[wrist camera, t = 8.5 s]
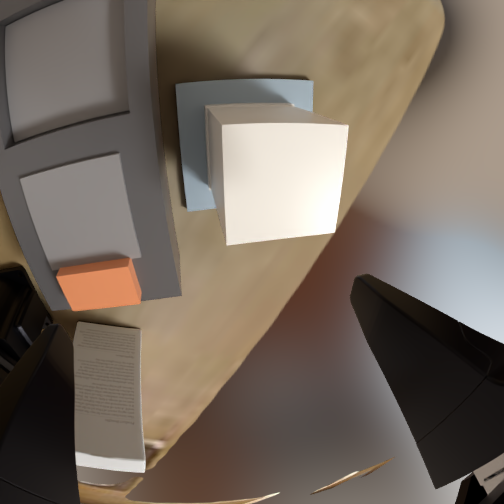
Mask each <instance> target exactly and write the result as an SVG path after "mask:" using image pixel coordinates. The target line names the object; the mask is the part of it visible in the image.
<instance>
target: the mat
mask: <svg viewBox="0 0 504 504" xmlns="http://www.w3.org/2000/svg"><path fill="white" fill-rule="evenodd" d="M176 99H177V113H178V126H179V137H180V148H181V158H182V168H183V177H184V186H185V195H186V203H187V211H188V212H189V211H197V210H205V209H213V208H216V205H215V202H214V198H213V194H212V191H211V190H209V187H208V175H207V158H206V138H205V115H204V105H210V104H227V103H292V104H294V106H295V107H298V108H301V109H304V110H307V111H310V112H312V108H313V81H309V80H291V79H230V80H212V81H199V82H189V83H180V84H176Z"/></svg>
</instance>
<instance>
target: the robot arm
mask: <svg viewBox="0 0 504 504" xmlns="http://www.w3.org/2000/svg"><path fill="white" fill-rule="evenodd" d="M20 273H21V274H20ZM350 300H351V304H352V306H353V309H354V311H355V314H356V316H357V318H358V321H359V323H360V326H361V328H362V331H363V333H364V336H365V338H366V340H367V343H368V345H369V347H370V349H371V351H372V352H373V354H374V356H375V358H376V360H377V362H378V364H379V366H380V368H381V370H382V372H383V374H384V375H385V378H386V380H387V382H388V384H389V386H390V388H391V390H392V392H393V394H394V396H395V398H396V400H397V403H398V405H399V407H400V408H401V411H402V413H403V415H404V417H405V419H406V421H407V424H408V426H409V428H410V431H411V433H412V435H413V437H414V439H415V441H416V442H417V443H416V444H417V447H418V449H419V451H420V453H421V456H422V458H423V460H424V463H425V465H426V468H427V470H428V473H429V475H430V477H431V480H432V482H433V485H434V487H435V489H438V488H440V487H443V486H445V485H447V484H449V483H451V482H453V481H455V480H457V479H459V478H461V477H463V476H465V475H467V474H469V473H471V472H472V473H471V474H470V475H469V476H467V477H466V478H465V479H464V480H463V481H462V482H461V485H460V489H459V492H458V496H457V499H456V502H455V504H504V344H503V343H500V342H498V341H496V340H494V339H492V338H490V337H488V336H486V335H484V334H482V333H479V332H478V331H476V330H474V329H472V328H470V327H468V326H466V325H465V324H463V323H461V322H458V321H457V320H455V319H454V318H452V317H450V316H448V315H446V314H444V313H443V312H441V311H439V310H437V309H435V308H433V307H431V306H429V305H427V304H426V303H424V302H422V301H420V300H418V299H416V298H414V297H412V296H410V295H408V294H407V293H405V292H403V291H401V290H399V289H397V288H395V287H393V286H391V285H389V284H387V283H385V282H383V281H381V280H379V279H377V278H375V277H374V276H372V275H370V274H362V275H358V276H356V277H355V279H354V283H353V287H352V291H351V294H350ZM42 329H45V330H44V331H43V332H42V333H41V331H42ZM0 504H80V497H79V490H78V481H77V471H76V455H75V380H74V346H73V343H72V341H71V339H70V337H69V336H68V334H67V332H66V331H65V329H64V327H63V326H62V325H61V324H53V320H52V319H51V317H50V315H49V314H48V312H47V310H46V308H45V307H44V305H43V303H42V301H41V299H40V298H39V296H38V294H37V292H36V290H35V288H34V286H33V284H32V282H31V280H30V278H29V276H28V274H27V272H26V270H25V269H24V268H23V267H15V268H9V269H4V270H0Z"/></svg>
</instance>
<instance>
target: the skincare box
mask: <svg viewBox="0 0 504 504" xmlns="http://www.w3.org/2000/svg"><path fill="white" fill-rule="evenodd" d="M73 346H74V380H75V455H76V465H80V466H86V467H94V468H101V469H108V470H116V471H127V472H142V473H144V472H145V462H146V461H145V450H144V440H143V426H142V406H141V330H140V329H133V328H124V327H115V326H108V325H100V324H93V323H86V322H80V321H78V322H77V326H76V330H75V334H74V339H73Z"/></svg>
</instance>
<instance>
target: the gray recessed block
mask: <svg viewBox="0 0 504 504" xmlns="http://www.w3.org/2000/svg"><path fill="white" fill-rule="evenodd" d="M155 3H156V0H0V190H1V194H2V197H3V200H4V203H5V206H6V209H7V212H8V215H9V218H10V221H11V223H12V226H13V229H14V231H15V234H16V237H17V239H18V242H19V244H20V246H21V249H22V251H23V254H24V256H25V258H26V260H27V263H28V265H29V267H30V269H31V271H32V273H33V275H34V277H35V280H36V282H37V284H38V286H39V288H40V289H41V291H42V293H43V295H44V297H45V299H46V301H47V303H48V305H49V306H50V308H51V310H52V311H55V310H66V309H72V310H73V311H81V310H90V309H100V308H109V307H118V306H126V305H135V304H141V301H146V300H154V299H161V298H169V297H176V296H182V293H181V275H180V255H179V249H178V243H177V238H176V232H175V226H174V220H173V213H172V207H171V200H170V193H169V186H168V179H167V171H166V163H165V155H164V146H163V136H162V127H161V116H160V104H159V91H158V75H157V56H156V16H155Z"/></svg>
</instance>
